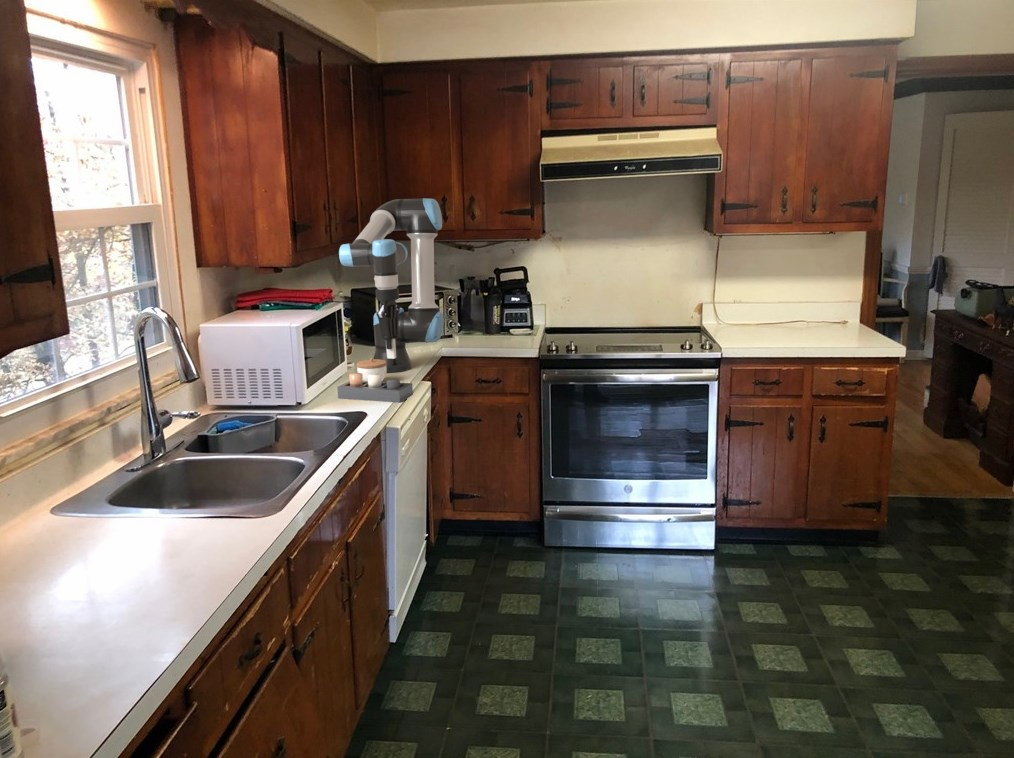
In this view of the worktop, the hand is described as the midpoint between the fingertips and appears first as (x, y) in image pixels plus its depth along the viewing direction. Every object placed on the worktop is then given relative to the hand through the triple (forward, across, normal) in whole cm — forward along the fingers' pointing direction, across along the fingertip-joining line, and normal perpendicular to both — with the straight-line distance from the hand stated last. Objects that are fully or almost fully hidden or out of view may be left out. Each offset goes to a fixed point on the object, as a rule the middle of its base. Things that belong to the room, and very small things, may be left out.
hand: (391, 357), depth 264 cm
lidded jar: (+14, -15, -16) cm, 26 cm away
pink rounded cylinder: (+11, +2, -13) cm, 17 cm away
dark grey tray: (+13, +2, -6) cm, 15 cm away
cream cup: (+11, +2, -6) cm, 13 cm away
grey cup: (+12, +2, +1) cm, 13 cm away
